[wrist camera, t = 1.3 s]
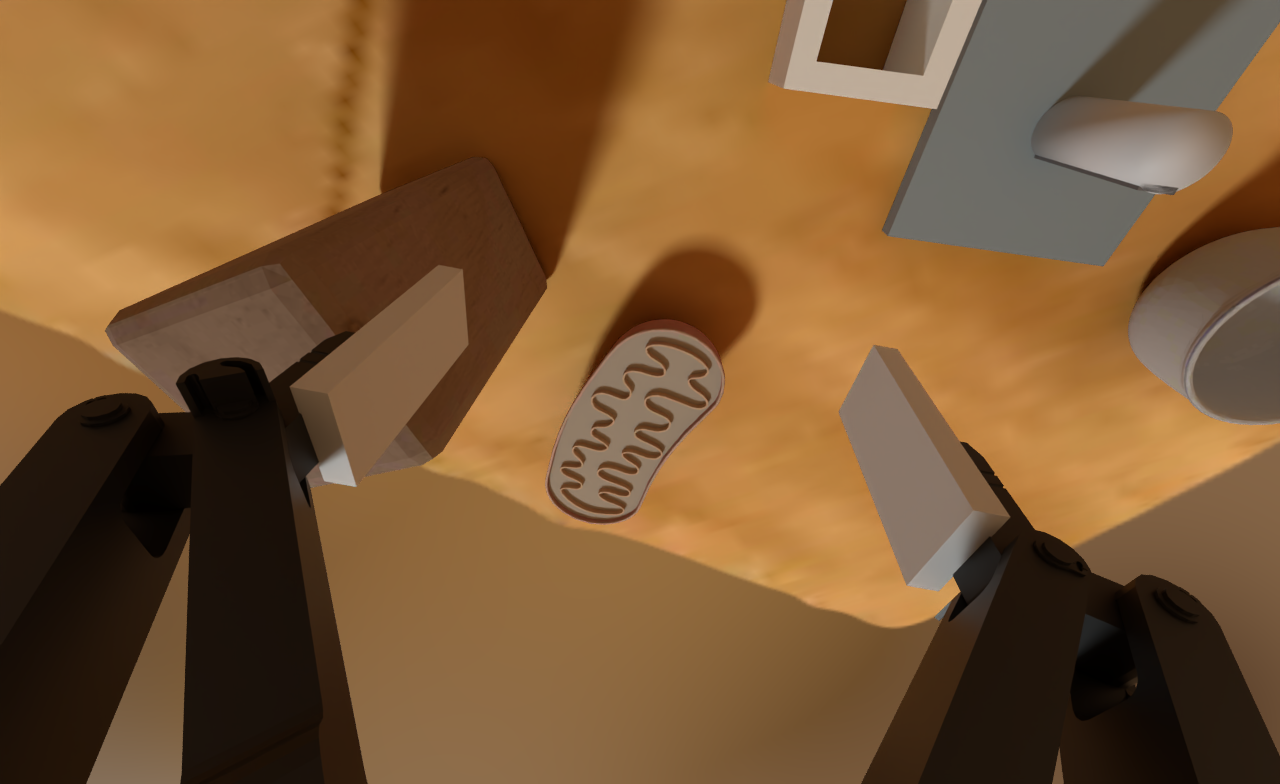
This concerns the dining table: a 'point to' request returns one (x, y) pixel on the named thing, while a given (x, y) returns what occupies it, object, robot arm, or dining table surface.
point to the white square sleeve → (913, 64)
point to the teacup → (1217, 327)
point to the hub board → (1034, 76)
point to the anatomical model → (632, 419)
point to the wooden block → (354, 296)
